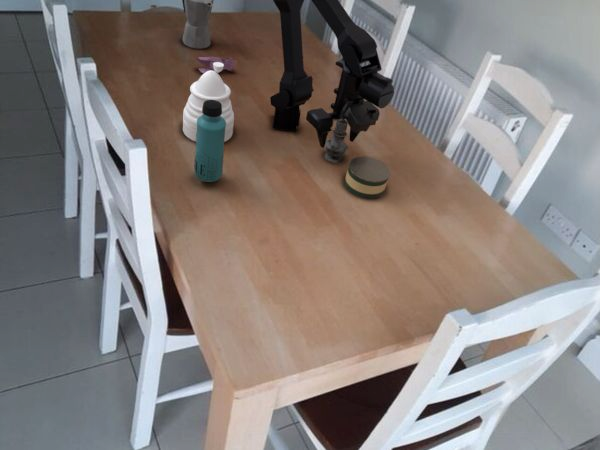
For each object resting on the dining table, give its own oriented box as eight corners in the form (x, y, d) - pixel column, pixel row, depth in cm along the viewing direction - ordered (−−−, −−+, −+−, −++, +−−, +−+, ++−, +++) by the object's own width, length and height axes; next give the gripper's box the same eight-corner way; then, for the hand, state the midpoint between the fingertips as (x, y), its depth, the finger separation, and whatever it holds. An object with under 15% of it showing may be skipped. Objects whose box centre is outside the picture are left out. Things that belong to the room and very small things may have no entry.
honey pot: (211, 112, 152) (216, 50, 141) (242, 135, 146) (249, 71, 135) (172, 125, 144) (173, 60, 133) (203, 149, 138) (207, 83, 127)
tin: (345, 196, 134) (350, 178, 130) (342, 171, 141) (347, 154, 138) (387, 200, 135) (393, 183, 132) (381, 176, 143) (387, 159, 139)
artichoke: (200, 56, 164) (238, 57, 170) (196, 53, 167) (233, 54, 173) (199, 74, 167) (237, 74, 172) (195, 70, 170) (232, 70, 175)
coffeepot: (220, 48, 183) (224, -7, 172) (196, 53, 178) (199, -4, 166) (192, 30, 191) (194, -25, 179) (168, 34, 185) (169, -22, 173)
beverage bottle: (226, 176, 132) (233, 101, 119) (214, 191, 127) (220, 114, 114) (201, 167, 133) (206, 92, 120) (188, 182, 128) (191, 104, 115)
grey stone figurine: (343, 165, 143) (353, 125, 135) (320, 160, 143) (330, 119, 136) (346, 154, 148) (356, 114, 140) (324, 148, 148) (333, 108, 140)
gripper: (336, 111, 124) (323, 168, 134) (400, 100, 133) (383, 155, 143) (310, 87, 130) (299, 143, 140) (373, 78, 139) (358, 132, 149)
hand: (336, 144), depth 143 cm, fingers open, 9 cm apart
